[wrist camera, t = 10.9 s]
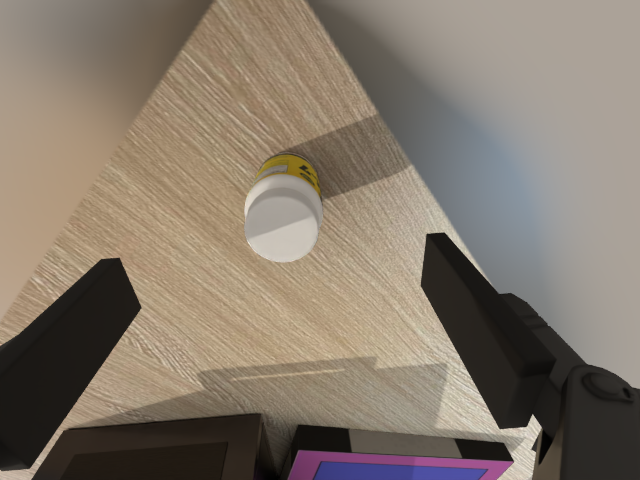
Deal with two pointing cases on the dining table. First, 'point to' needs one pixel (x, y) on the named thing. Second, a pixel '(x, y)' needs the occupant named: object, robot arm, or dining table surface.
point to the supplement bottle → (284, 208)
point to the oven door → (158, 451)
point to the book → (390, 456)
